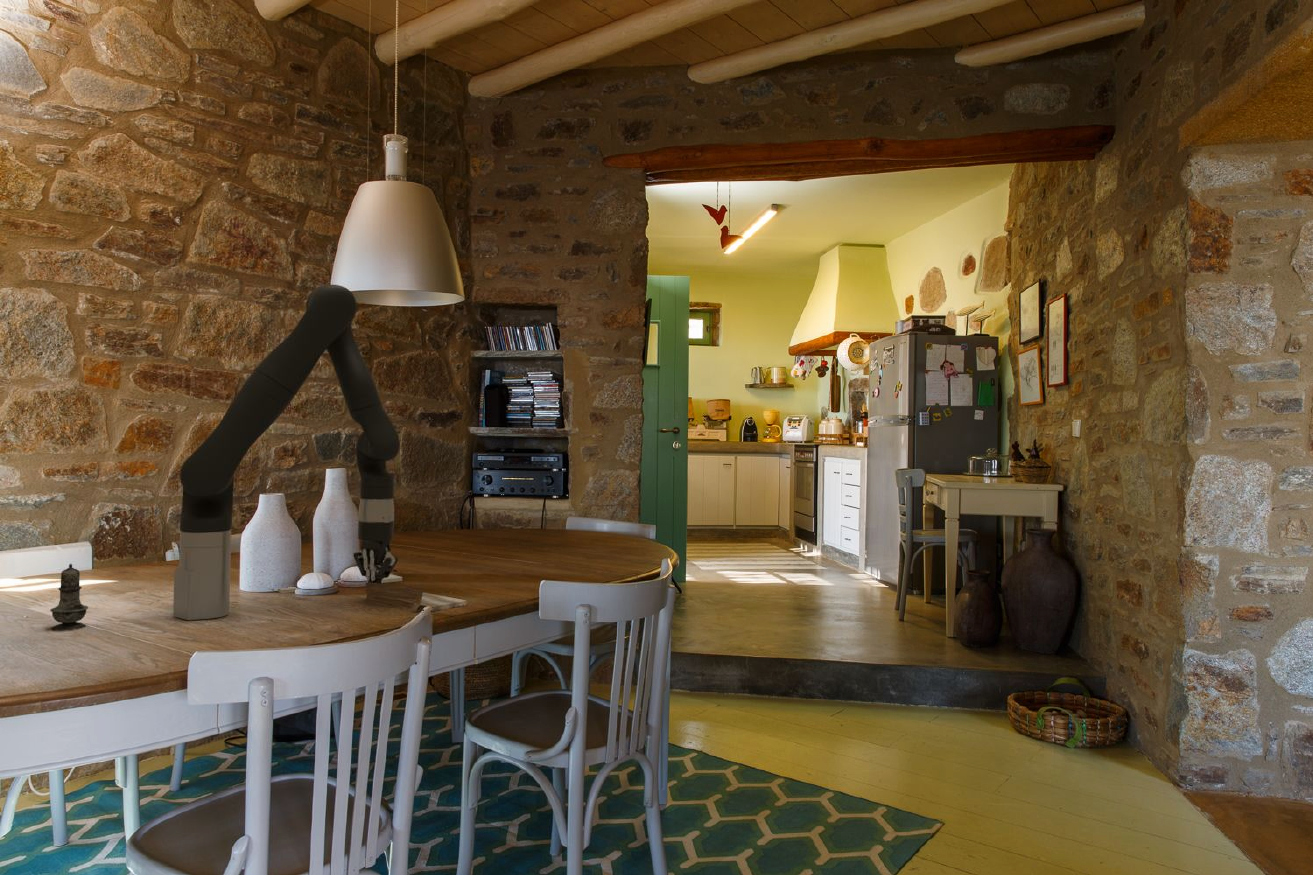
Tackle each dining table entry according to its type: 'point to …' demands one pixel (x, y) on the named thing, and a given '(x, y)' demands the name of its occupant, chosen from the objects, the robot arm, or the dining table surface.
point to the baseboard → (292, 589)
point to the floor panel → (439, 602)
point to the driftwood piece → (393, 596)
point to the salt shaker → (69, 602)
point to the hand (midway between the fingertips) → (374, 596)
